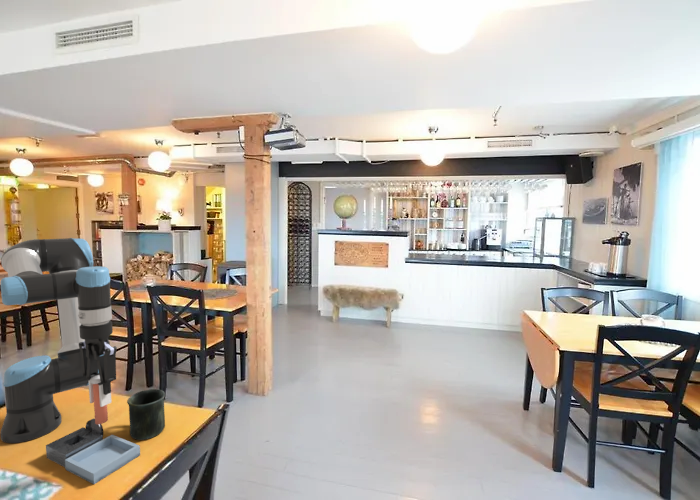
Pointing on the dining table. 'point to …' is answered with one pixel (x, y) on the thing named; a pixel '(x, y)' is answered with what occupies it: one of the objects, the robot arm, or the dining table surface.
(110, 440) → the tray
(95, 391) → the pin
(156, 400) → the mug
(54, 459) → the block
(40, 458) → the dining table surface
